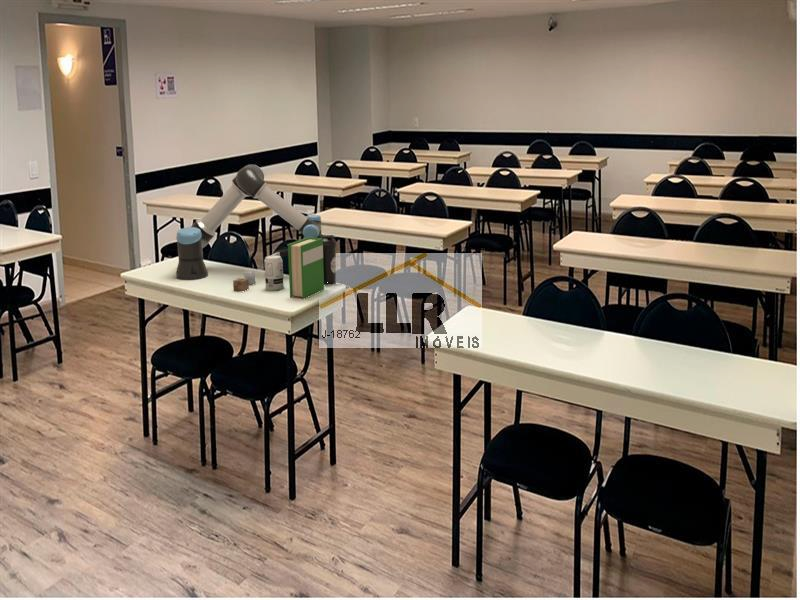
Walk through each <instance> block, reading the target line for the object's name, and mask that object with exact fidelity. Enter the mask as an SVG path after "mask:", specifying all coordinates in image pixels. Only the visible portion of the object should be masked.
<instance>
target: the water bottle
mask: <svg viewBox="0 0 800 600" xmlns="http://www.w3.org/2000/svg"><path fill="white" fill-rule="evenodd" d="M334 237H335V235H333V234H330V235H323V234H321V235H319V236H317V238H322V239H323V268H324V286H329V285H328V284H332V285H334V284H336V280H337V278H336V276H337V274H336V273H337V264H336V263H337V257H336V256H337V255H336V254H337V251H336V250H337V245H338V244H337V241H336V239H335V238H334ZM327 282H328V283H327Z"/></svg>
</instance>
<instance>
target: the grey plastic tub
mask: <svg viewBox="0 0 800 600" xmlns="http://www.w3.org/2000/svg"><path fill="white" fill-rule="evenodd" d="M243 275H244V278H243V279H248V282H249V286H254V285H253V284H255V283H256V271H255V270H244V272H243ZM256 284H257V283H256ZM256 284H255V285H256Z"/></svg>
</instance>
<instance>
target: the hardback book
mask: <svg viewBox="0 0 800 600" xmlns="http://www.w3.org/2000/svg"><path fill="white" fill-rule="evenodd" d="M287 249H288V256H287V257H288V277H289V279H288V280H289V284H288V285H289V298H293V296H294V297H301V298H302V299H303V298H305V299H307V298H309V297H308V296H310V297H312V296H313V294H314V295H315V293H316V294H318V293H320V292H322V291H324V290H325V285H324V268H323V239H322V238H312V237H308V238H305V237H304V238H302V239H300V240H296V241H294V242H290V243H288V244H287ZM323 289H324V290H323ZM321 290H322V291H321ZM319 291H320V292H319ZM317 292H318V293H317ZM311 295H312V296H311ZM306 297H307V298H306Z"/></svg>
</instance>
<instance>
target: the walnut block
mask: <svg viewBox="0 0 800 600" xmlns="http://www.w3.org/2000/svg"><path fill="white" fill-rule="evenodd" d="M232 287H233V289H232V290H233V292H239V291H244V292H246V291H248V290H247V289H249V290H250V285H249V282H248V279H245V278H242V277H239V278H238V277H237V278H236V279H234V280H232ZM245 290H246V291H245Z"/></svg>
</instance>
